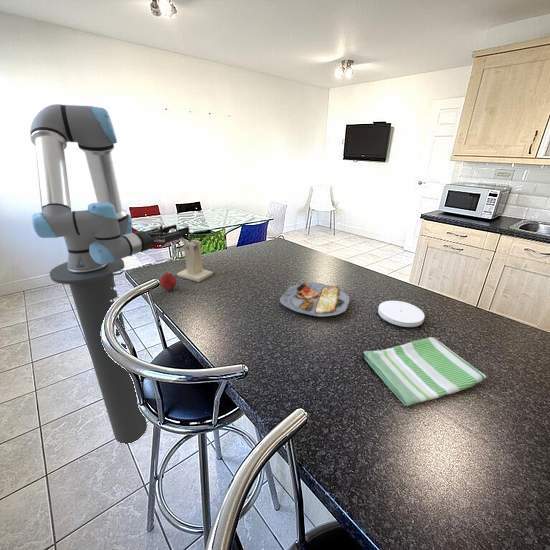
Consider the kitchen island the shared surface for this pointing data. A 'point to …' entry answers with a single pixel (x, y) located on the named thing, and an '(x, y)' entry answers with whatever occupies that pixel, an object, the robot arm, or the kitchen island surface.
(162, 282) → the onion
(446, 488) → the kitchen island surface
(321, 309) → the food plate
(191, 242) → the lever
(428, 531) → the kitchen island surface
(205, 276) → the bracket
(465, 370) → the dish towel
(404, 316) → the plastic lid
